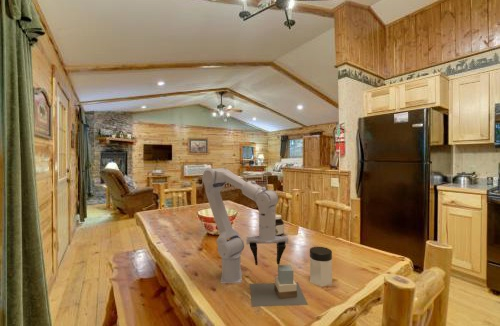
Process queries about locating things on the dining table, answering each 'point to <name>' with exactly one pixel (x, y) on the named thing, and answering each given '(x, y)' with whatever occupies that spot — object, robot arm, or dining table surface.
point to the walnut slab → (285, 293)
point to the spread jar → (279, 226)
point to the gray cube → (285, 274)
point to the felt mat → (273, 296)
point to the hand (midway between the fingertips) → (267, 263)
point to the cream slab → (285, 286)
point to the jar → (320, 266)
